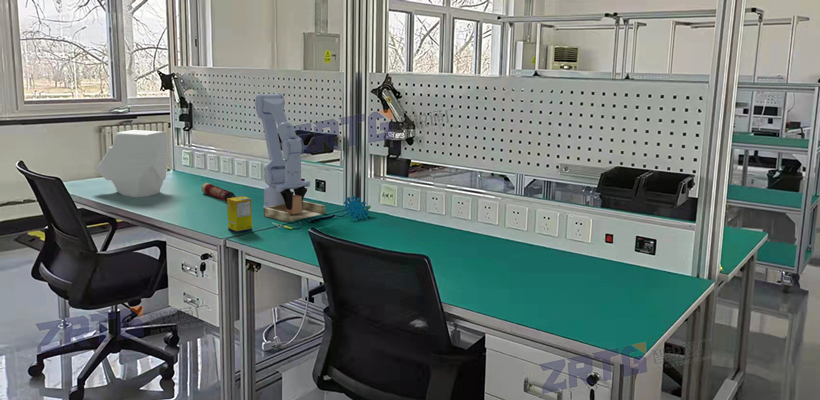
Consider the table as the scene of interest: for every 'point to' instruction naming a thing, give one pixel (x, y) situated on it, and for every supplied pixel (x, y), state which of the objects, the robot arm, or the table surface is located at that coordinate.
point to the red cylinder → (216, 191)
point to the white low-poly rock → (136, 162)
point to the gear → (356, 207)
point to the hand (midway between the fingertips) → (293, 208)
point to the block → (296, 205)
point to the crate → (281, 214)
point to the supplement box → (239, 214)
